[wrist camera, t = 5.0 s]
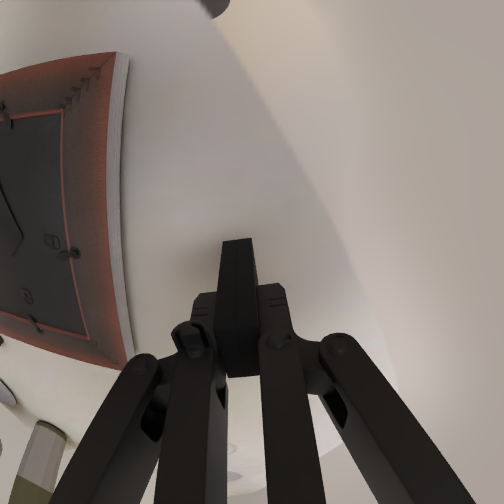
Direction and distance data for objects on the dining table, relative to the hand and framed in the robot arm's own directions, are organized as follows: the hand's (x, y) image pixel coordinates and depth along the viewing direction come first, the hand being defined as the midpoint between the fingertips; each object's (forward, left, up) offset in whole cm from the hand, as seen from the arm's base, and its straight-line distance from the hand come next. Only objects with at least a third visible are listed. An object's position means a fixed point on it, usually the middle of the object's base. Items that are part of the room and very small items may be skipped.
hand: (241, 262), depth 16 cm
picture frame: (-4, -15, -2) cm, 16 cm away
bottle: (+30, -38, -2) cm, 49 cm away
